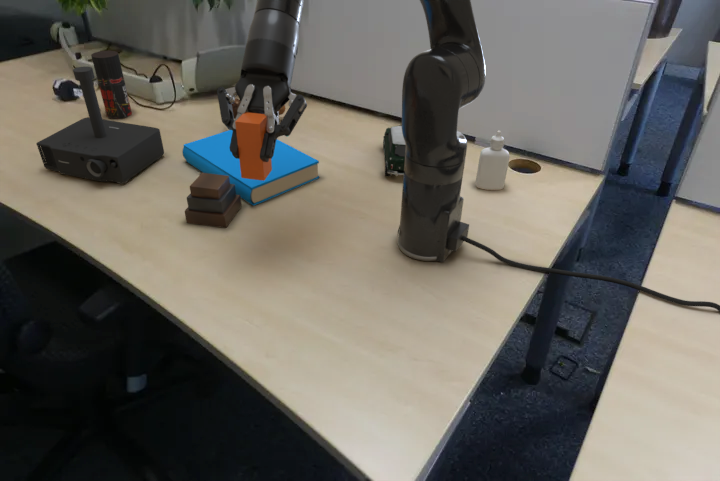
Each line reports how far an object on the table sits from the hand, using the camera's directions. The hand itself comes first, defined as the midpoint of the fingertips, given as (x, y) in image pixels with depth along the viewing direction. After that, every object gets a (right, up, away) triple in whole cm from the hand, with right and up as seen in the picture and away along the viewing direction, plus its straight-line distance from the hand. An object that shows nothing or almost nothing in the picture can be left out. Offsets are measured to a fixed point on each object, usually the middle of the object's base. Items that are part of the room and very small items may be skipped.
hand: (250, 158), depth 79 cm
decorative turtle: (-9, +16, +55) cm, 58 cm away
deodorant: (-45, +20, +59) cm, 76 cm away
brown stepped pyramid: (-11, -7, +21) cm, 25 cm away
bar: (0, -2, +4) cm, 4 cm away
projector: (-38, +4, +36) cm, 53 cm away
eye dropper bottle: (+42, -1, +32) cm, 53 cm away
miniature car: (+26, +5, +40) cm, 48 cm away
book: (-7, +3, +36) cm, 36 cm away
